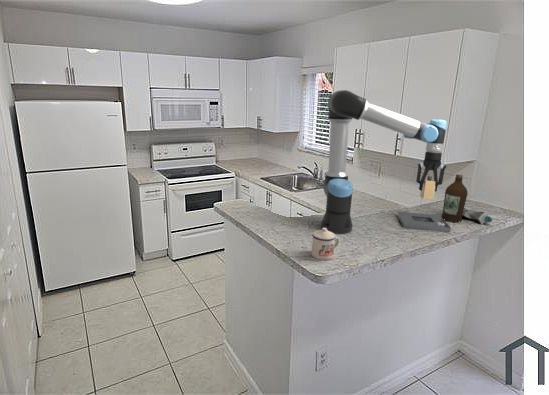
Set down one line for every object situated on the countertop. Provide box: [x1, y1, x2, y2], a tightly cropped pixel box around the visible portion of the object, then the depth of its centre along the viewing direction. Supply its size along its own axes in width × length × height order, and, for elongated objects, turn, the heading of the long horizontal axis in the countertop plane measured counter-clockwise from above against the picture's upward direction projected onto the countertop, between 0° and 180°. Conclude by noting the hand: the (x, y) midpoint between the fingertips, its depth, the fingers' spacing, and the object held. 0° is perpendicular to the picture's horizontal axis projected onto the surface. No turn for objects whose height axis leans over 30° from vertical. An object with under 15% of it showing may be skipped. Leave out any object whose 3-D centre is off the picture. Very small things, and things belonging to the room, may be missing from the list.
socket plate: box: [396, 211, 452, 233], centre depth 184 cm, size 22×20×4 cm
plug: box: [421, 175, 435, 200], centre depth 179 cm, size 4×6×11 cm
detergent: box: [462, 207, 493, 224], centre depth 195 cm, size 13×7×25 cm
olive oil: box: [441, 174, 468, 223], centre depth 189 cm, size 11×11×25 cm
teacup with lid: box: [311, 228, 340, 261], centre depth 140 cm, size 12×9×12 cm
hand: (426, 196), depth 180 cm, fingers closed on plug, 4 cm apart
